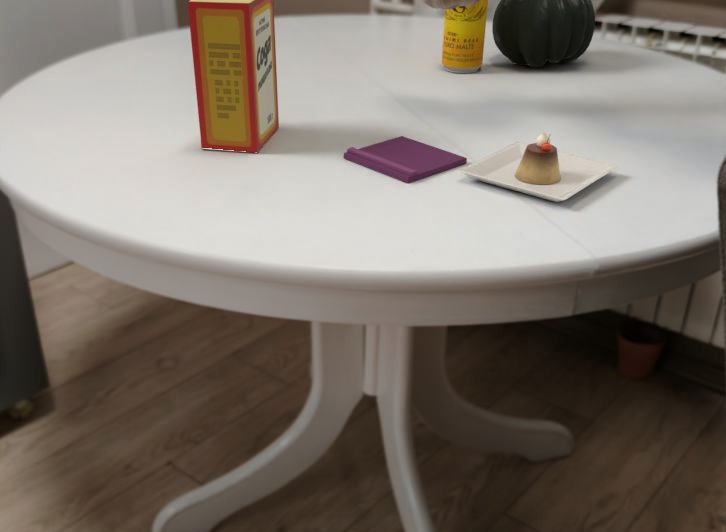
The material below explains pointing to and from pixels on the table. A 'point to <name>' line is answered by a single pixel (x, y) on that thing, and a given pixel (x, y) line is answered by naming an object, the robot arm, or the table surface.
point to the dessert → (538, 170)
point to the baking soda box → (234, 72)
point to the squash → (543, 30)
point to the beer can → (464, 37)
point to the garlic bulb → (449, 3)
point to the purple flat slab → (404, 158)
